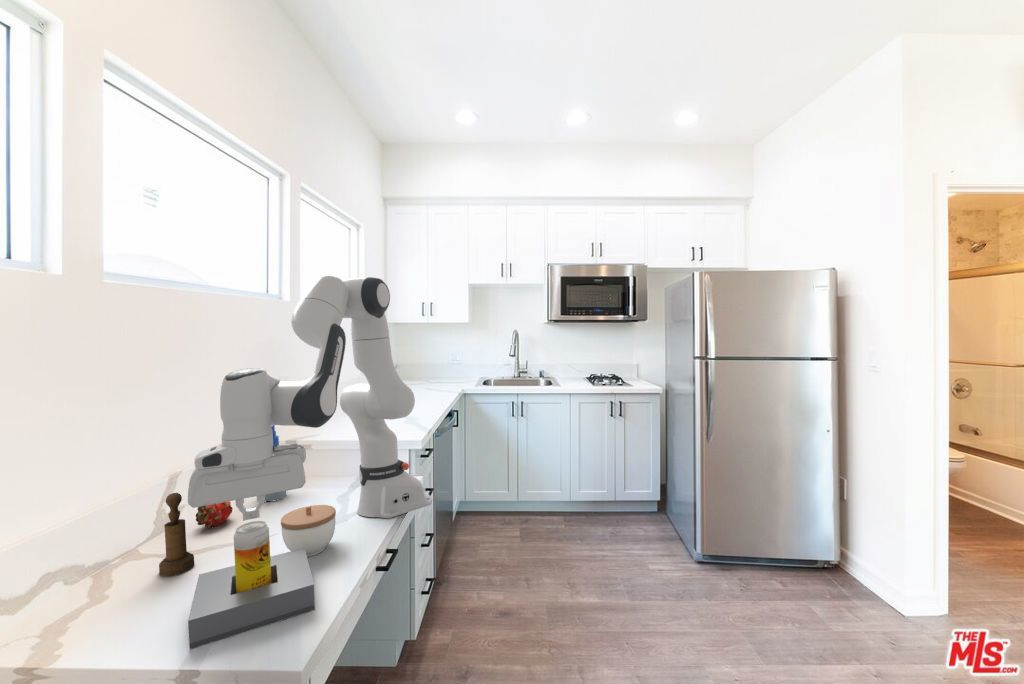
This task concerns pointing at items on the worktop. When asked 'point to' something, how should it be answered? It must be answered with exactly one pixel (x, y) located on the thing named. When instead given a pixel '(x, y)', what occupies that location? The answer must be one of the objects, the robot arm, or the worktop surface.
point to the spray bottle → (279, 494)
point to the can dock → (249, 599)
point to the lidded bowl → (309, 528)
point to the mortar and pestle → (175, 541)
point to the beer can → (252, 556)
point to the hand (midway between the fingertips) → (251, 518)
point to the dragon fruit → (213, 514)
